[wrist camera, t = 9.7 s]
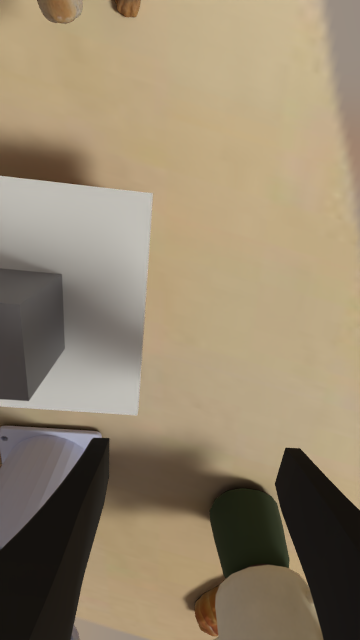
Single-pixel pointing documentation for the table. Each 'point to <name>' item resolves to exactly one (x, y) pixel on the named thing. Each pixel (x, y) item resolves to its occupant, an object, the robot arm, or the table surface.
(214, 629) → the pastry
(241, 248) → the table surface
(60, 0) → the lion figurine
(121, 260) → the lid
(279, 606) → the character mug
